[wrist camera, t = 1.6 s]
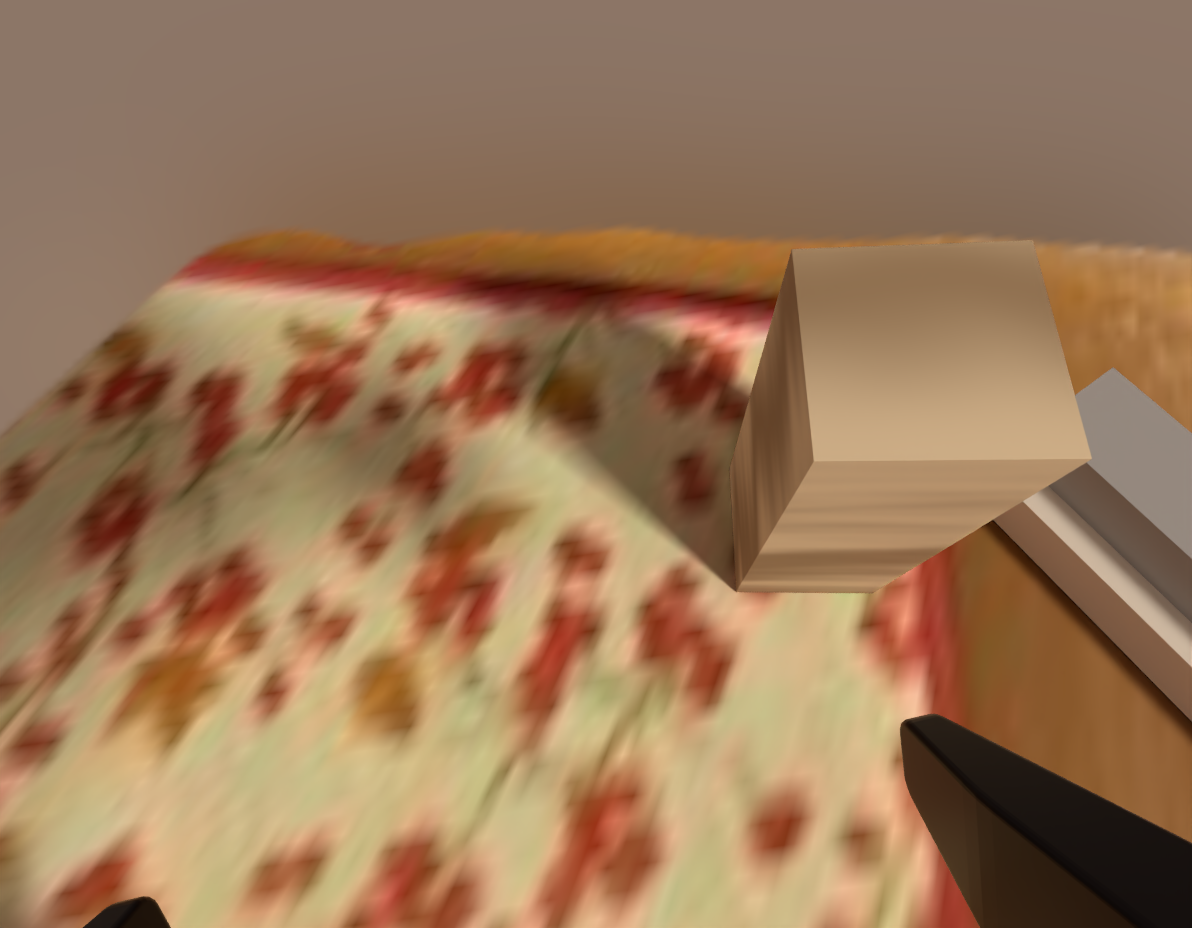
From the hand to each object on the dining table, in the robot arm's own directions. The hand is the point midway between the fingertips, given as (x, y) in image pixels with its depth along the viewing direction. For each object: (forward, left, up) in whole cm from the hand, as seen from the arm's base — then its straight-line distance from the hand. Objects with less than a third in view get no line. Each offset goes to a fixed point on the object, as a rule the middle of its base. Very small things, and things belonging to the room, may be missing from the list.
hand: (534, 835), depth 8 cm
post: (+3, -10, -14) cm, 17 cm away
